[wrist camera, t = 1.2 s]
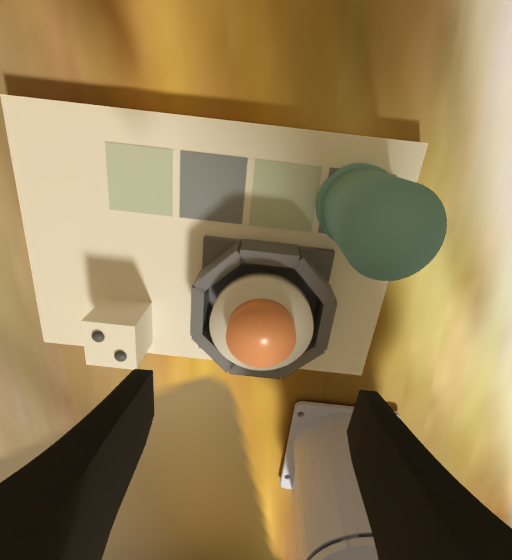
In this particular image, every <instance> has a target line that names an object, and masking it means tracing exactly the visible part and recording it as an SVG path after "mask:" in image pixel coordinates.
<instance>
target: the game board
mask: <svg viewBox="0 0 512 560" xmlns="http://www.w3.org/2000/svg"><path fill="white" fill-rule="evenodd" d="M0 96H1V102H2V108H3V113H4V119H5V125H6V130H7V136H8V142H9V147H10V153H11V158H12V164H13V170H14V175H15V181H16V187H17V192H18V198H19V203H20V209H21V215H22V220H23V226H24V232H25V237H26V243H27V249H28V254H29V260H30V265H31V271H32V277H33V282H34V288H35V294H36V299H37V305H38V310H39V316H40V322H41V327H42V333H43V339H44V342H50V343H59V344H68V345H78V346H84V349H85V357H86V365H96V366H105V367H115V368H124V369H138V367H139V365H140V363H141V362H142V360H143V358H144V356H145V354H146V353H154V354H163V355H172V356H182V357H191V358H201V359H210V360H214V361H215V362H216V363H217V364H218V365H219V366H220V367H221V368H222V369H223V370H224V371H225V372H228V371H229V374H235V375H244V376H254V377H263V378H273V379H280V376H281V377H282V378H284V377H286V376H288V375H289V374H291V373H292V372H294V371H296V370H297V369H305V370H314V371H324V372H333V373H343V374H352V375H362V372H363V368H364V365H365V362H366V358H367V355H368V351H369V348H370V344H371V341H372V337H373V334H374V330H375V327H376V323H377V320H378V316H379V313H380V310H381V306H382V303H383V299H384V296H385V292H386V289H387V285H388V282H389V281H380V280H374V279H371V278H368V277H366V276H363V275H362V274H360V273H359V272H357V271H356V270H355V269H354V268H353V267H352V266H351V265H350V264H349V262H348V261H347V259H346V257H345V256H344V254H343V253H342V251H341V250H340V248H339V247H338V245H337V244H336V242H335V241H334V240H333V239H331V238H330V237H329V236H328V235H327V234H326V233H325V232H324V230H323V229H322V227H321V225H320V223H319V221H318V218H317V214H316V200H317V196H318V193H319V191H320V189H321V187H322V185H323V183H324V182H325V181H326V179H327V178H328V177H329V176H330V175H331V174H333V173H334V172H335V171H337V170H338V169H340V168H342V167H344V166H347V165H350V164H354V163H366V164H371V165H375V166H378V167H380V168H382V169H384V170H385V171H387V172H388V173H389V174H390V175H393V176H396V177H400V178H403V179H406V180H409V181H413V182H416V183H417V181H418V178H419V174H420V171H421V167H422V164H423V160H424V157H425V154H426V150H427V147H428V143H422V142H413V141H405V140H396V139H387V138H379V137H370V136H361V135H352V134H344V133H335V132H326V131H317V130H309V129H300V128H291V127H283V126H274V125H265V124H256V123H248V122H239V121H230V120H222V119H213V118H204V117H195V116H187V115H178V114H169V113H161V112H152V111H143V110H134V109H126V108H117V107H108V106H100V105H91V104H82V103H73V102H65V101H56V100H47V99H39V98H30V97H21V96H12V95H4V94H0ZM253 272H270V273H275V274H278V275H281V276H283V277H286V278H288V279H289V280H291V281H292V282H294V283H295V284H296V285H297V286H298V287H299V288H300V289H301V290H302V291H303V293H304V294H305V296H306V298H307V300H308V302H309V305H310V309H311V313H312V317H313V325H314V329H313V335H312V339H311V341H310V344H309V346H308V347H307V349H306V350H305V351H304V353H303V354H302V355H301V356H300V357H299V358H298V359H296V360H295V361H293V362H292V363H290V364H288V365H286V366H284V367H281V368H278V369H273V370H264V371H260V370H251V369H247V368H243V367H241V366H238V365H236V364H234V363H232V362H231V361H229V360H228V359H226V358H225V357H224V356H223V355H222V354H221V353H220V352H219V351H218V349H217V348H216V346H215V344H214V342H213V340H212V337H211V334H210V327H209V322H210V316H211V313H212V309H213V306H214V303H215V300H216V298H217V296H218V294H219V293H220V291H221V290H222V289H223V288H224V287H225V286H226V285H227V284H228V283H229V282H230V281H232V280H234V279H235V278H237V277H239V276H242V275H245V274H248V273H253Z"/></svg>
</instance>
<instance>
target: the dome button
mask: <svg viewBox="0 0 512 560" xmlns="http://www.w3.org/2000/svg"><path fill="white" fill-rule="evenodd" d="M209 327H210V334H211V337H212V340H213V342H214V344H215V346H216V348H217V349H218V351H219V352H220V353H221V354H222V355H223V356H224V357H225V358H226V359H228V360H229V361H231V362H232V363H234V364H236V365H238V366H241V367H243V368H247V369H251V370H260V371H264V370H273V369H278V368H281V367H284V366H286V365H288V364H290V363H292V362H293V361H295V360H296V359H298V358H299V357H300V356H301V355H302V354H303V353H304V351H305V350H306V349H307V347H308V346H309V344H310V341H311V339H312V335H313V329H314V325H313V317H312V313H311V309H310V305H309V302H308V300H307V298H306V296H305V294H304V293H303V291H302V290H301V289H300V288H299V287H298V286H297V285H296V284H295V283H294V282H292V281H291V280H289V279H288V278H286V277H283V276H281V275H278V274H275V273H270V272H253V273H248V274H245V275H242V276H239V277H237V278H235V279H234V280H232V281H230V282H229V283H228V284H227V285H226V286H225V287H224V288H223V289H222V290H221V291H220V293H219V294H218V296H217V298H216V300H215V303H214V306H213V309H212V313H211V316H210V322H209Z"/></svg>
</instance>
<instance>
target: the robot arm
mask: <svg viewBox="0 0 512 560" xmlns="http://www.w3.org/2000/svg"><path fill="white" fill-rule="evenodd" d="M299 412H302V413H299ZM153 417H154V391H153V371H152V370H142V369H134V370H133V371H132V372H131V373H130V374H129V375H128V376H127V377H126V378H125V379H124V380H123V381H122V382H121V383H120V384H119V385H118V386H117V387H116V388H115V389H114V390H113V391H112V392H111V393H110V394H109V395H108V396H107V397H106V398H105V399H104V400H103V401H102V402H101V403H100V404H98V405H97V406H96V407H95V408H94V409H93V410H92V411H91V412H90V413H89V414H88V415H87V416H86V417H84V418H83V419H82V420H81V421H80V422H79V423H78V424H76V425H75V426H74V427H73V428H72V429H71V430H69V431H68V432H67V433H66V434H65V435H64V436H63V437H61V438H60V439H59V440H58V441H56V442H55V443H54V444H53V445H51V446H50V447H49V448H48V449H46V450H45V451H44V452H43V453H41V454H40V455H39V456H37V457H36V458H35V459H33V460H32V461H31V462H29V463H28V464H27V465H25V466H24V467H22V468H21V469H20V470H19V471H17V472H15V473H14V474H12V475H11V476H10V477H8V478H7V479H5V480H4V481H2V482H1V483H0V560H101V559H102V556H103V553H104V550H105V547H106V544H107V541H108V538H109V534H110V531H111V528H112V526H113V523H114V520H115V518H116V515H117V512H118V510H119V508H120V505H121V503H122V500H123V498H124V496H125V493H126V490H127V488H128V486H129V483H130V481H131V479H132V476H133V474H134V471H135V469H136V466H137V464H138V462H139V459H140V456H141V454H142V452H143V449H144V447H145V444H146V441H147V438H148V434H149V431H150V427H151V424H152V420H153ZM280 486H281V487H282V488H285V489H292V499H293V514H294V529H295V543H296V558H297V560H512V529H511V528H510V527H509V526H508V525H507V524H505V523H504V522H503V521H502V520H500V519H499V518H498V517H497V516H496V515H495V514H493V513H492V512H491V511H490V510H489V509H488V508H487V507H485V506H484V505H483V504H482V503H481V502H480V501H479V500H478V499H477V498H476V497H474V496H473V495H472V494H471V493H470V492H469V491H468V490H467V489H466V488H465V487H464V486H463V485H462V484H460V483H459V482H458V481H457V480H456V479H455V478H454V477H453V476H452V475H451V474H450V473H449V472H448V471H447V470H446V469H445V468H444V467H443V466H442V465H441V463H440V462H439V461H438V460H437V459H436V458H435V457H434V456H433V455H432V454H431V453H430V452H429V451H428V450H427V449H426V448H425V447H424V445H423V444H422V443H421V442H420V441H419V440H418V439H417V438H416V437H415V435H414V434H413V433H412V432H411V431H410V430H409V429H408V427H407V426H406V425H405V424H404V423H403V422H402V420H401V419H400V416H399V414H398V412H397V411H393V410H392V409H391V407H390V406H389V405H388V404H387V403H386V402H385V400H384V399H383V398H382V397H381V396H380V395H379V393H378V392H376V391H365V390H360V391H359V394H358V397H357V400H356V403H355V406H345V405H335V404H326V403H316V402H307V401H299V402H297V403H296V404H295V407H294V412H293V417H292V422H291V427H290V432H289V437H288V442H287V447H286V453H285V458H284V463H283V468H282V473H281V478H280Z"/></svg>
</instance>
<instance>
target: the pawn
mask: <svg viewBox="0 0 512 560" xmlns="http://www.w3.org/2000/svg"><path fill="white" fill-rule="evenodd" d="M316 214H317V218H318V221H319V223H320V225H321V227H322V229H323V230H324V232H325V233H326V234H327V235H328V236H329V237H330V238H331V239H333V240H334V241H335V242H336V244H337V245H338V247H339V248H340V250H341V251H342V253H343V254H344V256H345V257H346V259H347V261H348V262H349V264H350V265H351V266H352V267H353V268H354V269H355V270H356V271H357V272H359V273H360V274H362V275H363V276H366V277H368V278H371V279H374V280H380V281H393V280H399V279H402V278H406V277H408V276H410V275H413V274H414V273H416V272H418V271H420V270H421V269H422V268H424V267H425V266H426V265H427V264H428V263H429V262H430V261H431V260H432V259H433V258H434V257H435V255H436V254H437V253H438V251H439V249H440V247H441V246H442V243H443V241H444V238H445V234H446V228H447V218H446V213H445V209H444V206H443V204H442V202H441V201H440V199H439V198H438V196H437V195H436V194H435V193H434V192H433V191H431V190H430V189H429V188H427V187H425V186H423V185H422V184H419V183H416V182H413V181H409V180H406V179H403V178H400V177H396V176H393V175H390V174H389V173H388V172H387V171H385V170H384V169H382V168H380V167H378V166H375V165H371V164H366V163H354V164H350V165H347V166H344V167H342V168H340V169H338V170H337V171H335V172H334V173H333V174H331V175H330V176H329V177H328V178H327V179H326V181H325V182H324V183H323V185H322V187H321V189H320V191H319V193H318V196H317V200H316Z"/></svg>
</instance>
